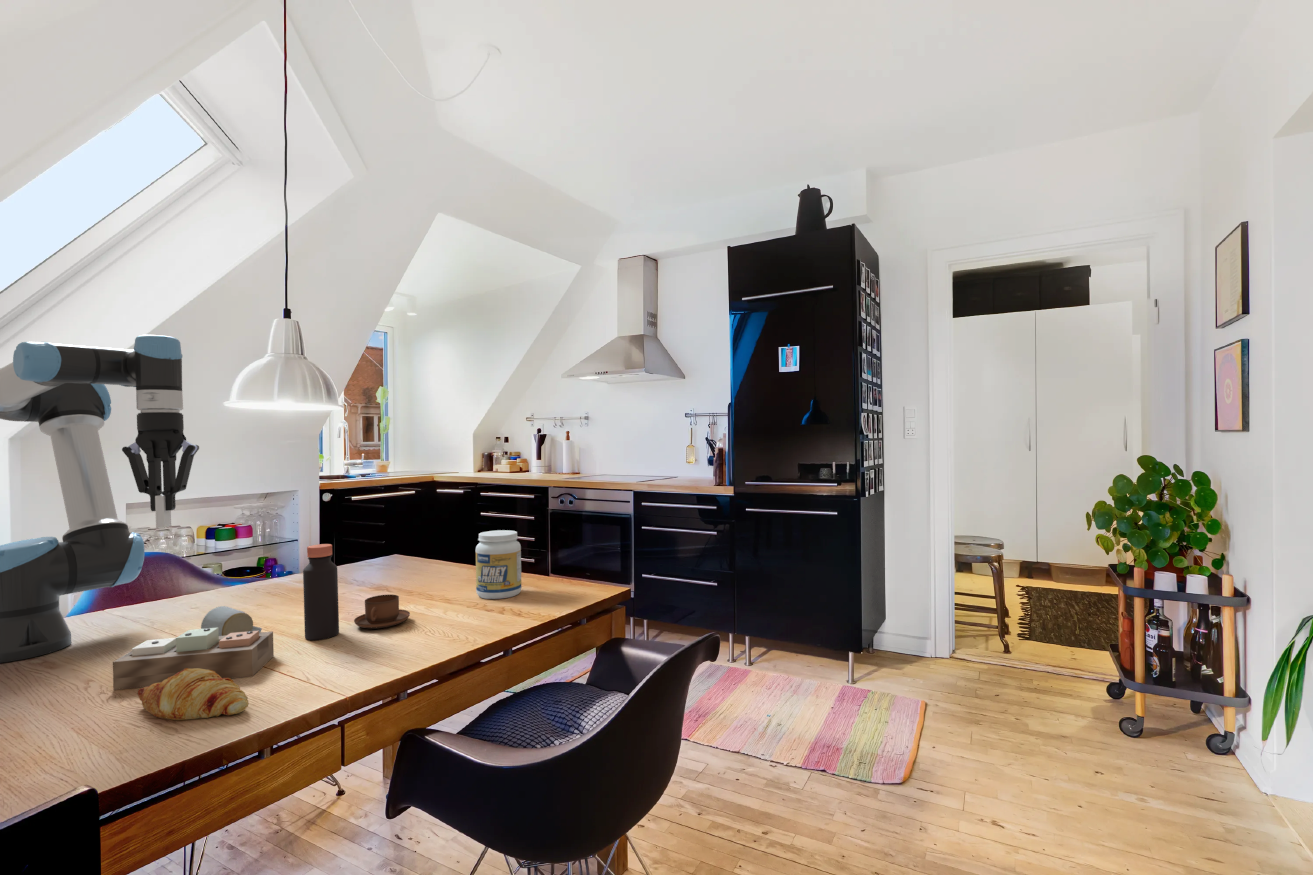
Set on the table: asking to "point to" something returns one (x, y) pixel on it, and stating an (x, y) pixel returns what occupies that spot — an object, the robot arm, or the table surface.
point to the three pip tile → (239, 639)
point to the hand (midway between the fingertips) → (163, 526)
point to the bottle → (320, 594)
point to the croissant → (193, 696)
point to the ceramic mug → (228, 621)
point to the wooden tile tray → (192, 663)
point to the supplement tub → (498, 565)
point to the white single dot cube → (154, 646)
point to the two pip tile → (197, 639)
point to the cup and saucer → (381, 612)
